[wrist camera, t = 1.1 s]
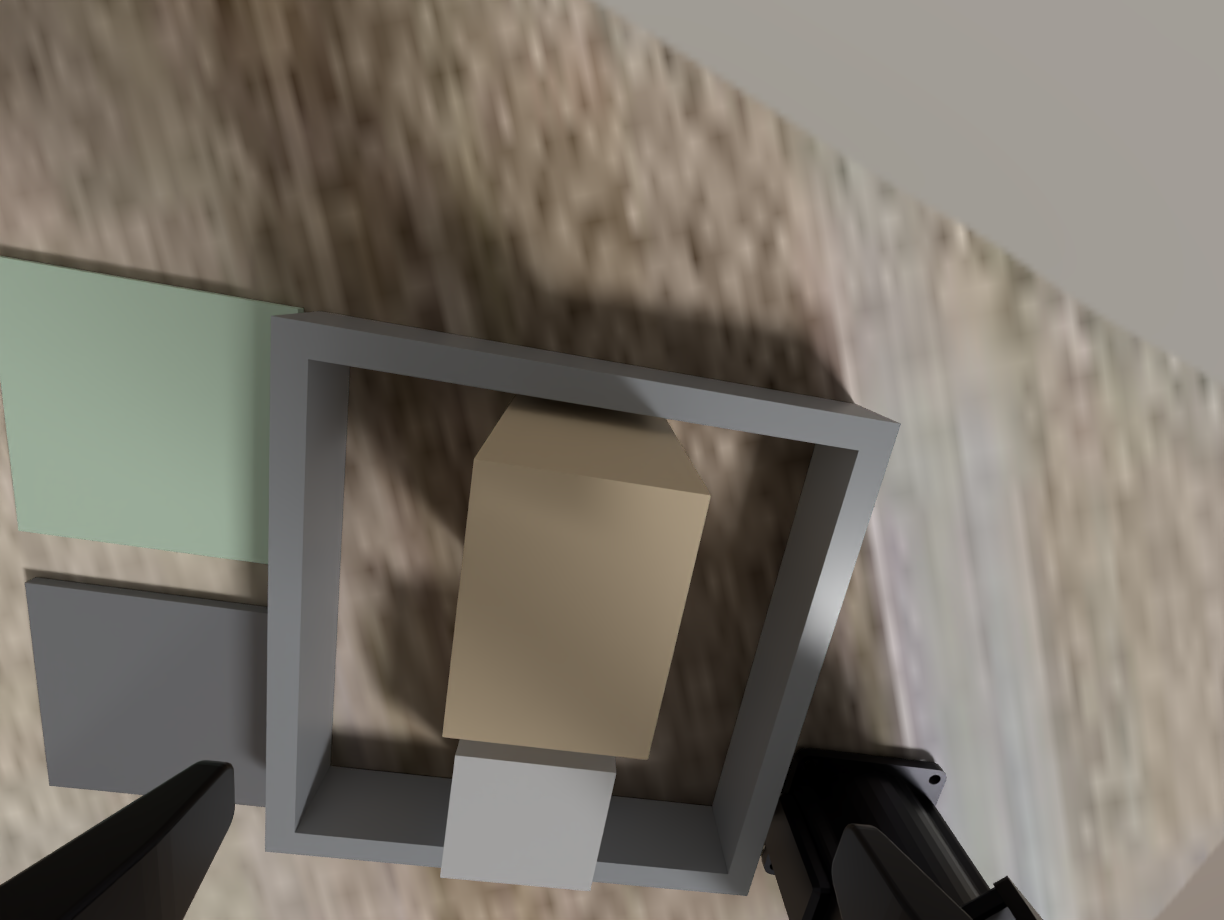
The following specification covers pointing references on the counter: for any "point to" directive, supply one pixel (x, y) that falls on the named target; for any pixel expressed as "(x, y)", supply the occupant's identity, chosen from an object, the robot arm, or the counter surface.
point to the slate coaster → (148, 686)
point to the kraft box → (572, 579)
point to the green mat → (137, 410)
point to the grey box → (526, 815)
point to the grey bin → (330, 343)
